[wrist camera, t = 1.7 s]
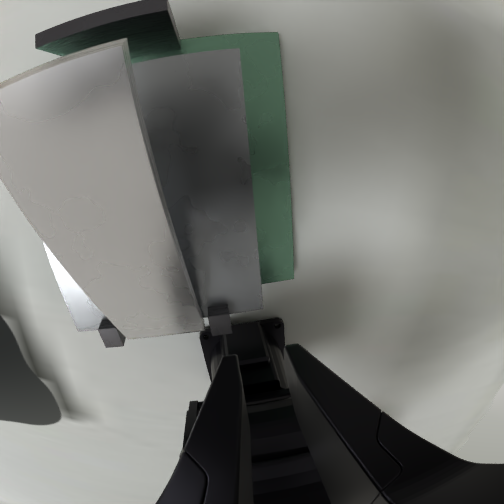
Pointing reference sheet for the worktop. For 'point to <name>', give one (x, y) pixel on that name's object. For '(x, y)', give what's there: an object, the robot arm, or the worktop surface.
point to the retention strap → (97, 188)
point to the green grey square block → (202, 154)
